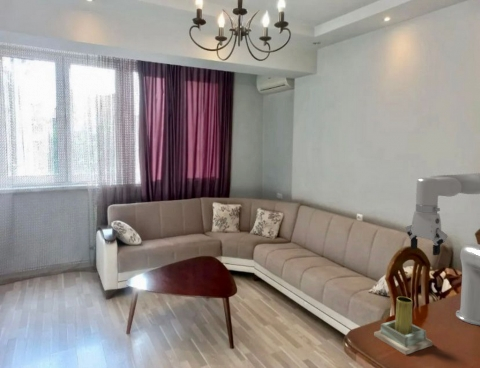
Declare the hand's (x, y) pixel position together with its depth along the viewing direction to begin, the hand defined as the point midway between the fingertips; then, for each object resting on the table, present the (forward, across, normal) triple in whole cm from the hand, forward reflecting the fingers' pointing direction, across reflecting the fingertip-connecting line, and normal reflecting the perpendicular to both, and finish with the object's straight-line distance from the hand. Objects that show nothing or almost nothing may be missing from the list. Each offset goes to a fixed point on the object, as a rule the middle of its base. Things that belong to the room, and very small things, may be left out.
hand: (424, 251), depth 137 cm
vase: (+29, -5, +17) cm, 34 cm away
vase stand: (+30, -5, +17) cm, 35 cm away
